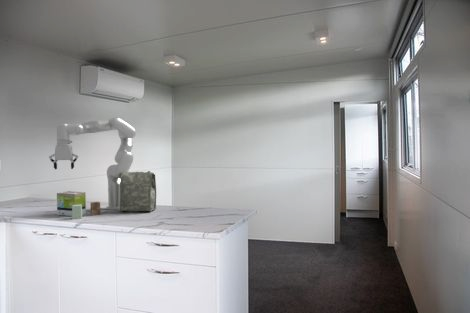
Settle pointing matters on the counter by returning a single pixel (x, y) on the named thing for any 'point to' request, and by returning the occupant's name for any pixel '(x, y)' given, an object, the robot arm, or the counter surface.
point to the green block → (76, 211)
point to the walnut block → (95, 208)
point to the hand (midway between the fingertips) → (64, 169)
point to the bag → (137, 191)
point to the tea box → (70, 202)
